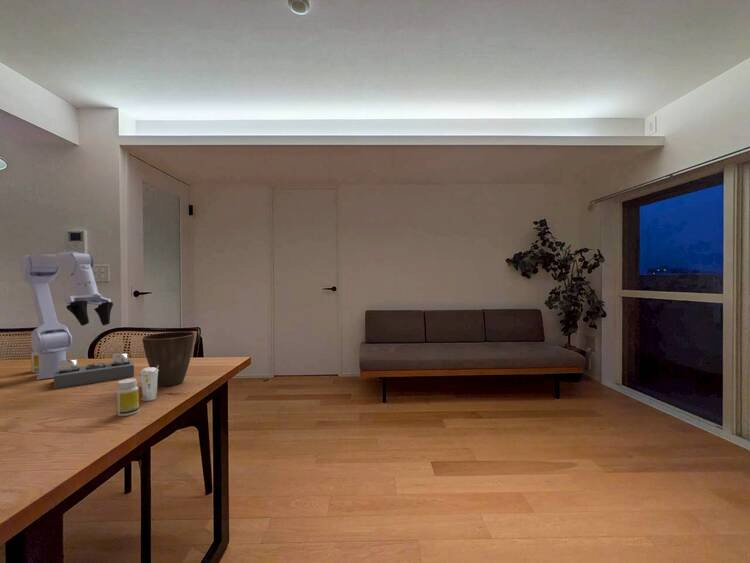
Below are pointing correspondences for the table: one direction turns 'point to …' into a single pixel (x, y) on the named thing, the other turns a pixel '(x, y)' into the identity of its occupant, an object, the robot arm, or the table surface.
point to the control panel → (93, 374)
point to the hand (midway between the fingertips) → (96, 324)
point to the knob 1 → (68, 365)
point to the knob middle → (95, 366)
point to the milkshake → (149, 383)
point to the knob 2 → (120, 359)
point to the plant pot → (169, 355)
